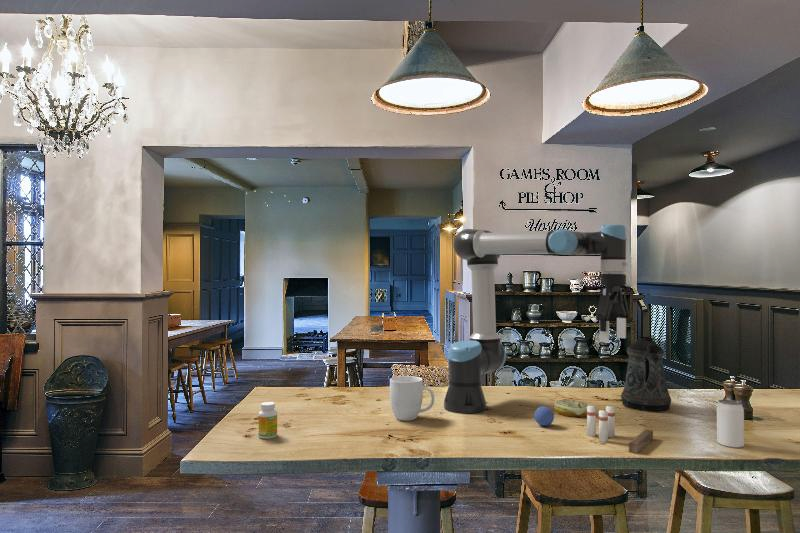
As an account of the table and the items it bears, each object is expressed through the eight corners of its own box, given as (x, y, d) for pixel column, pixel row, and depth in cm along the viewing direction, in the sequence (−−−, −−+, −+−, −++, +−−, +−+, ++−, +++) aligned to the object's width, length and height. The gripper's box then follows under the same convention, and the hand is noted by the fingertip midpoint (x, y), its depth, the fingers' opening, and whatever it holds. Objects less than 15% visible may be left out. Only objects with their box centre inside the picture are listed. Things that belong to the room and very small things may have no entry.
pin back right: (597, 441, 149) (597, 411, 150) (600, 438, 151) (600, 409, 151) (606, 442, 148) (606, 412, 148) (609, 440, 150) (609, 411, 150)
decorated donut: (584, 420, 171) (584, 408, 171) (549, 415, 178) (549, 403, 178) (593, 412, 180) (593, 401, 180) (560, 407, 187) (560, 396, 187)
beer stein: (646, 399, 199) (646, 334, 199) (689, 412, 181) (688, 340, 181) (611, 402, 194) (610, 335, 194) (651, 416, 176) (651, 342, 176)
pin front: (585, 435, 155) (585, 406, 155) (588, 433, 157) (588, 405, 157) (594, 437, 153) (594, 408, 153) (597, 435, 155) (597, 406, 155)
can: (711, 441, 149) (711, 399, 150) (732, 440, 150) (732, 398, 150) (727, 448, 143) (727, 405, 143) (749, 448, 144) (749, 404, 144)
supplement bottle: (267, 440, 150) (267, 406, 150) (254, 437, 153) (254, 404, 153) (281, 435, 155) (281, 402, 155) (268, 432, 157) (268, 400, 158)
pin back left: (604, 436, 154) (604, 407, 154) (607, 434, 156) (607, 405, 156) (613, 437, 152) (613, 408, 153) (616, 435, 154) (615, 407, 154)
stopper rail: (628, 452, 140) (628, 442, 140) (645, 437, 153) (645, 429, 153) (636, 453, 139) (636, 444, 139) (653, 439, 151) (652, 430, 151)
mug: (432, 413, 179) (432, 375, 179) (436, 422, 168) (436, 382, 168) (389, 413, 178) (389, 375, 178) (389, 423, 167) (390, 382, 167)
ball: (531, 425, 164) (531, 406, 164) (539, 421, 169) (539, 403, 169) (549, 429, 160) (549, 410, 160) (557, 425, 165) (557, 406, 165)
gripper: (609, 273, 154) (608, 344, 154) (639, 273, 172) (639, 337, 172) (584, 273, 159) (584, 342, 159) (616, 273, 177) (616, 335, 177)
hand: (613, 340), depth 165 cm, fingers open, 13 cm apart
